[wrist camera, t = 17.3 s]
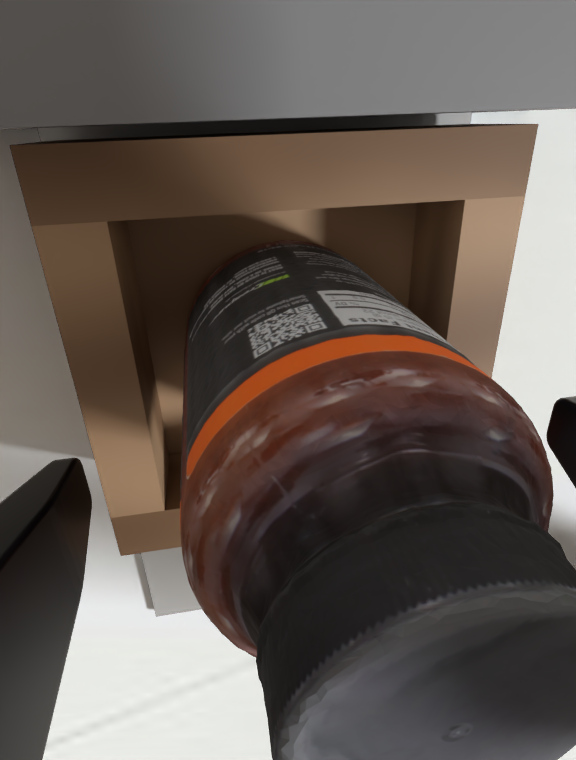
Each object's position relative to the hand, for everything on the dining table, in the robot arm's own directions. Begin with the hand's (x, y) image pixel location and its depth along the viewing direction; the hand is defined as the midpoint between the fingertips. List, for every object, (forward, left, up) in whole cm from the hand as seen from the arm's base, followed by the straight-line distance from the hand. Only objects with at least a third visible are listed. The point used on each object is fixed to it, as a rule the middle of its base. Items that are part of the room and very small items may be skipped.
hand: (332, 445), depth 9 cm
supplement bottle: (0, 0, -7) cm, 7 cm away
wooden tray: (0, 0, -7) cm, 7 cm away
